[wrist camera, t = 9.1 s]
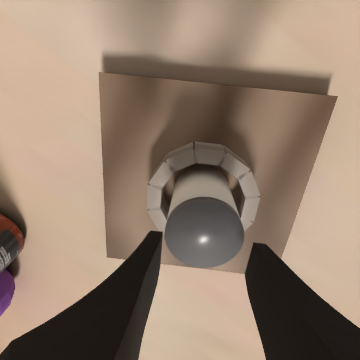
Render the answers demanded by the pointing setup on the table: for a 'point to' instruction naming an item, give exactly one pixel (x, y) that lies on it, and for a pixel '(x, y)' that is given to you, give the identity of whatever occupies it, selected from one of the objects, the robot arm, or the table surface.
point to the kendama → (6, 290)
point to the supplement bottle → (9, 242)
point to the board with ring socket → (205, 155)
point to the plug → (203, 219)
